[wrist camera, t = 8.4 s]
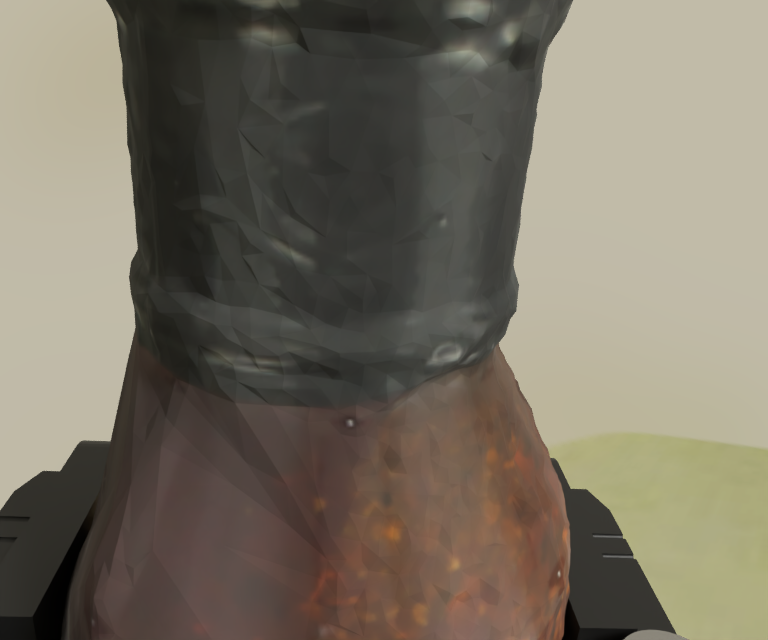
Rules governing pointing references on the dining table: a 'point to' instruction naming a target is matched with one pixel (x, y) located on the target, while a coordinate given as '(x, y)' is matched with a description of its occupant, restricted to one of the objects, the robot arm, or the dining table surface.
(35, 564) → the robot arm
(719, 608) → the dining table surface
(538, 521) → the sauce bottle
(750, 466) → the dining table surface
